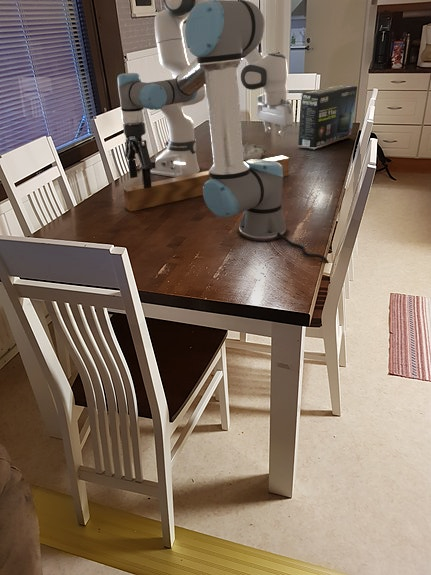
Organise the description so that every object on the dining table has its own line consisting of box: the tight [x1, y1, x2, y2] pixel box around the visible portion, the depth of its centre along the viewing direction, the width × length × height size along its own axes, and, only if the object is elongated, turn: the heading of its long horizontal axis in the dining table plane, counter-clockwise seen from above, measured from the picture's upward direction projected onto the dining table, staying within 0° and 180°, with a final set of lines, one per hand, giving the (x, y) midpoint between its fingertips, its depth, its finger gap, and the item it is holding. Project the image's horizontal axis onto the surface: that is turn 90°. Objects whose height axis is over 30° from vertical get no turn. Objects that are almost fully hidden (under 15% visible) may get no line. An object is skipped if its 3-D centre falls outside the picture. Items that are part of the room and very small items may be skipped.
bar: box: [123, 155, 290, 213], centre depth 184 cm, size 73×4×8 cm, turn 120°
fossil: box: [243, 141, 267, 162], centre depth 224 cm, size 18×11×15 cm
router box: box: [297, 84, 358, 151], centre depth 238 cm, size 36×11×27 cm, turn 134°
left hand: (274, 134), depth 189 cm, fingers open, 8 cm apart
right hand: (140, 182), depth 169 cm, fingers open, 13 cm apart
